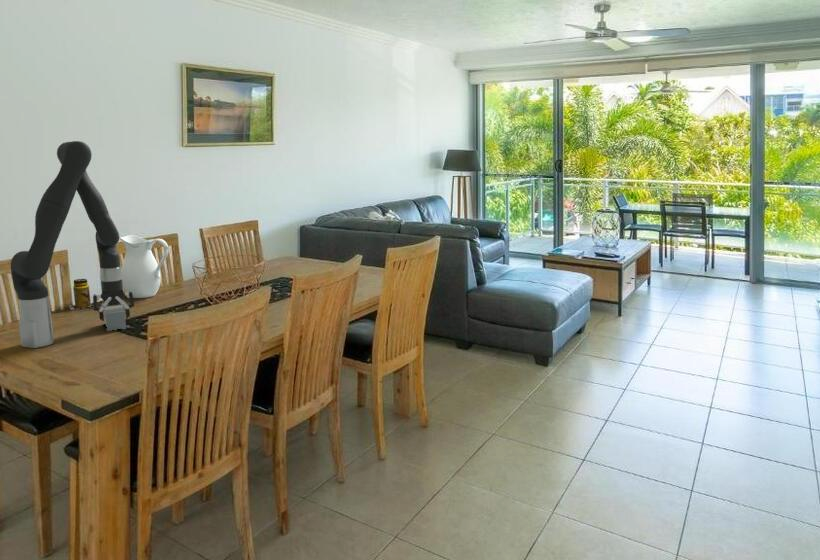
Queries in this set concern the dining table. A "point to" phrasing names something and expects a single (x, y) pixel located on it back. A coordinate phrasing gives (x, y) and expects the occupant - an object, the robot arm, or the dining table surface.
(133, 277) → the pitcher
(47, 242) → the robot arm
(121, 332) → the dining table surface
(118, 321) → the grey rectangular block
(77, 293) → the condiment
